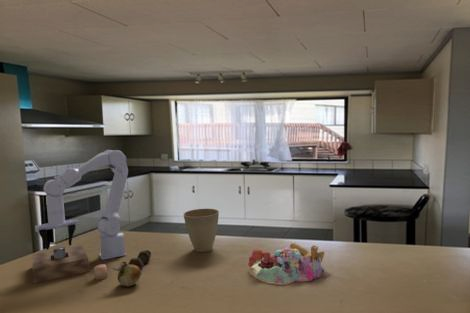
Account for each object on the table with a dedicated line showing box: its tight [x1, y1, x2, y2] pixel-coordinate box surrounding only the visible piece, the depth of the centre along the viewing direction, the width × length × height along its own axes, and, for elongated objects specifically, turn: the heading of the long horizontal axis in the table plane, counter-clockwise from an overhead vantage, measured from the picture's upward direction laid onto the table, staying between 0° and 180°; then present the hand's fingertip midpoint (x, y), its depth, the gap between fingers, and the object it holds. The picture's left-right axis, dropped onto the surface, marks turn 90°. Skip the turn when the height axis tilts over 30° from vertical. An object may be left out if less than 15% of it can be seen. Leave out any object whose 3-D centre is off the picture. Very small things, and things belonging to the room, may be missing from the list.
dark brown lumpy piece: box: [128, 249, 152, 271], centre depth 137 cm, size 6×5×15 cm
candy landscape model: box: [247, 242, 325, 286], centre depth 126 cm, size 25×24×9 cm
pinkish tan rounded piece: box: [93, 263, 108, 281], centre depth 127 cm, size 4×4×4 cm
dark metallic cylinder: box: [52, 246, 66, 260], centre depth 136 cm, size 4×4×8 cm
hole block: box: [32, 245, 90, 284], centre depth 137 cm, size 18×18×5 cm
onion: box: [112, 261, 142, 288], centre depth 120 cm, size 8×8×8 cm
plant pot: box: [183, 208, 220, 253], centre depth 152 cm, size 15×15×16 cm
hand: (59, 246), depth 136 cm, fingers open, 7 cm apart
